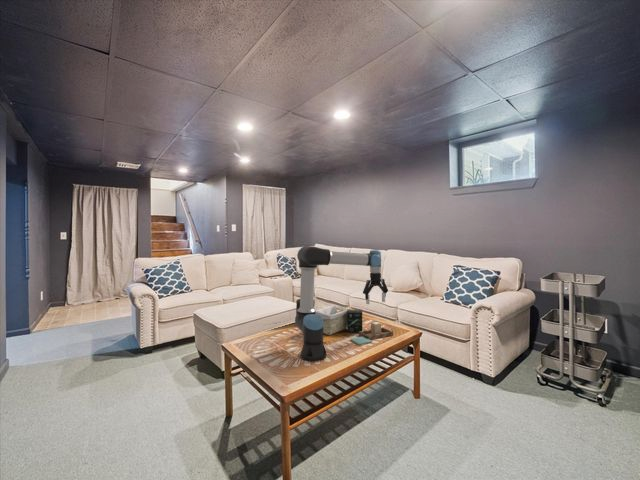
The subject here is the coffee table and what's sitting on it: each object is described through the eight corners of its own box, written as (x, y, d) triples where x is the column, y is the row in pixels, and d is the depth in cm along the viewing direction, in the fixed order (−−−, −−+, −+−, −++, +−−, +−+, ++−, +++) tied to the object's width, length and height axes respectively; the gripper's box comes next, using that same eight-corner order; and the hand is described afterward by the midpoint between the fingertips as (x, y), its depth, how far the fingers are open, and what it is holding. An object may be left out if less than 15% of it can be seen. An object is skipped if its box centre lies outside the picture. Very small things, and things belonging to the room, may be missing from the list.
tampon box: (362, 328, 217) (362, 309, 217) (362, 333, 208) (362, 312, 208) (347, 328, 218) (347, 308, 218) (347, 332, 209) (347, 312, 209)
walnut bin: (368, 340, 193) (368, 336, 193) (358, 335, 203) (358, 331, 203) (393, 335, 203) (393, 331, 203) (382, 330, 212) (382, 327, 212)
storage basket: (329, 336, 201) (330, 315, 200) (312, 330, 211) (313, 310, 211) (349, 328, 219) (350, 309, 218) (332, 323, 229) (333, 304, 229)
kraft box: (375, 336, 199) (375, 324, 199) (370, 334, 204) (370, 322, 204) (381, 335, 202) (381, 323, 202) (376, 333, 206) (376, 321, 206)
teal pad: (359, 345, 184) (359, 343, 184) (350, 340, 193) (350, 338, 193) (371, 342, 189) (371, 340, 189) (362, 337, 198) (362, 336, 198)
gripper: (363, 274, 194) (364, 306, 194) (393, 271, 205) (393, 302, 205) (357, 272, 200) (357, 303, 200) (386, 270, 212) (386, 300, 212)
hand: (375, 303), depth 203 cm, fingers open, 13 cm apart
